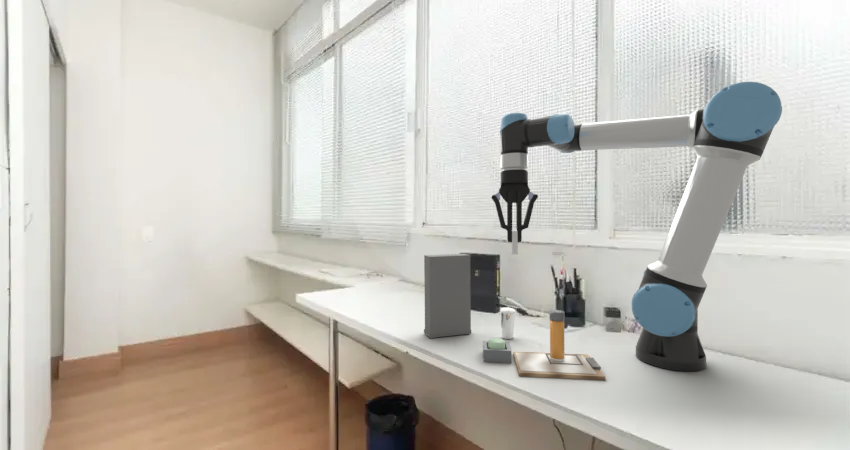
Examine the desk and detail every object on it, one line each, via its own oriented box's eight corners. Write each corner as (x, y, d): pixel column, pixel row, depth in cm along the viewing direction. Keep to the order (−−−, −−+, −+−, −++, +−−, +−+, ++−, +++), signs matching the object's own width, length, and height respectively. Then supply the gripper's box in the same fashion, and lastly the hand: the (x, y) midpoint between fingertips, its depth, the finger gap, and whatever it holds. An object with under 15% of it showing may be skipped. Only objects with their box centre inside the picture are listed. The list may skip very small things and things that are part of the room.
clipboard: (588, 357, 100) (588, 352, 100) (606, 380, 86) (606, 373, 86) (513, 354, 102) (513, 349, 102) (518, 375, 89) (518, 370, 89)
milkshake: (518, 340, 114) (518, 307, 114) (500, 339, 115) (499, 306, 115) (517, 335, 119) (517, 303, 118) (500, 334, 120) (500, 303, 119)
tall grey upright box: (463, 328, 127) (462, 253, 126) (471, 334, 121) (470, 255, 120) (423, 333, 122) (422, 255, 122) (429, 339, 116) (429, 256, 116)
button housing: (509, 353, 104) (509, 342, 104) (511, 362, 97) (511, 351, 97) (483, 352, 105) (483, 341, 105) (483, 361, 98) (483, 349, 98)
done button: (504, 353, 103) (504, 338, 102) (505, 359, 98) (505, 344, 98) (488, 352, 103) (487, 338, 103) (488, 358, 99) (488, 343, 99)
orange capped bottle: (563, 357, 98) (563, 310, 98) (566, 362, 94) (565, 313, 94) (548, 356, 98) (548, 309, 98) (550, 361, 95) (550, 313, 95)
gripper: (535, 171, 111) (536, 252, 111) (490, 172, 112) (490, 252, 113) (540, 167, 103) (540, 255, 104) (491, 169, 105) (491, 255, 105)
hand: (514, 253), depth 108 cm, fingers closed
